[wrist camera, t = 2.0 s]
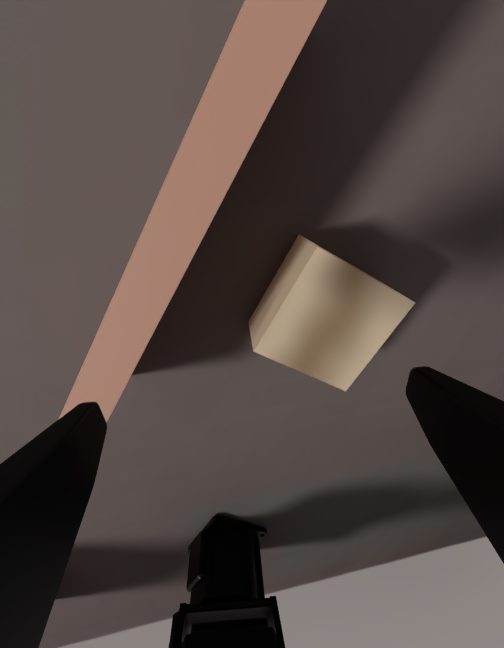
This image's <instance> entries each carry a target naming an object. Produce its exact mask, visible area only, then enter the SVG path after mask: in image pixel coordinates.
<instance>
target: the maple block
mask: <svg viewBox="0 0 504 648" xmlns="http://www.w3.org/2000/svg"><path fill="white" fill-rule="evenodd" d="M414 304H415V302H413V301H412V300H410V299H409V298H407V297H405V296H404V295H402V294H400V293H399V292H397V291H395V290H394V289H392V288H391V287H389V286H387V285H386V284H384V283H382V282H381V281H379V280H377V279H376V278H374V277H372V276H370V275H369V274H367V273H365V272H363V271H362V270H360V269H358V268H357V267H355V266H353V265H351V264H350V263H348V262H346V261H344V260H343V259H341V258H339V257H338V256H336V255H334V254H332V253H331V252H329V251H327V250H325V249H324V248H322V247H320V246H318V245H317V244H315V243H313V242H312V241H310V240H308V239H306V238H305V237H303V236H301V235H298V236H297V238H296V240H295V242H294V243H293V245H292V247H291V248H290V250H289V252H288V254H287V255H286V257H285V259H284V261H283V262H282V264H281V266H280V268H279V269H278V271H277V273H276V275H275V276H274V278H273V280H272V281H271V283H270V285H269V287H268V288H267V290H266V292H265V294H264V295H263V297H262V299H261V301H260V302H259V304H258V306H257V308H256V309H255V311H254V313H253V314H252V316H251V318H250V320H249V321H248V323H249V329H250V335H251V340H252V346H253V352H256V353H258V354H260V355H263V356H265V357H267V358H270V359H272V360H274V361H277V362H279V363H281V364H284V365H286V366H288V367H291V368H293V369H295V370H298V371H300V372H302V373H305V374H307V375H309V376H312V377H314V378H316V379H319V380H321V381H323V382H326V383H328V384H330V385H333V386H335V387H337V388H339V389H342V390H344V391H346V390H347V389H348V388H349V386H350V385H351V384H352V383H353V381H354V380H355V379H356V378H357V376H358V375H359V374H360V373H361V371H362V370H363V369H364V367H365V366H366V365H367V364H368V362H369V361H370V360H371V359H372V357H373V356H374V355H375V354H376V352H377V351H378V350H379V348H380V347H381V346H382V345H383V343H384V342H385V341H386V340H387V338H388V337H389V336H390V335H391V333H392V332H393V331H394V329H395V328H396V327H397V326H398V324H399V323H400V322H401V321H402V319H403V318H404V317H405V316H406V314H407V313H408V312H409V310H410V309H411V308H412V307H413V305H414Z"/></svg>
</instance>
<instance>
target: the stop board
mask: <svg viewBox="0 0 504 648" xmlns="http://www.w3.org/2000/svg"><path fill="white" fill-rule="evenodd" d="M326 2H327V0H245V1H244V4H243V6H242V8H241V10H240V13H239V15H238V17H237V19H236V22H235V24H234V26H233V28H232V31H231V33H230V35H229V37H228V40H227V42H226V44H225V46H224V49H223V51H222V53H221V55H220V58H219V60H218V62H217V64H216V67H215V69H214V71H213V73H212V76H211V78H210V80H209V82H208V85H207V87H206V89H205V91H204V94H203V96H202V98H201V100H200V103H199V105H198V107H197V109H196V112H195V114H194V116H193V118H192V121H191V123H190V125H189V127H188V130H187V132H186V134H185V136H184V139H183V141H182V143H181V145H180V148H179V150H178V152H177V154H176V157H175V159H174V161H173V163H172V166H171V168H170V170H169V172H168V175H167V177H166V179H165V181H164V184H163V186H162V188H161V190H160V193H159V195H158V197H157V199H156V202H155V204H154V206H153V208H152V211H151V213H150V215H149V217H148V220H147V222H146V224H145V226H144V229H143V231H142V233H141V235H140V238H139V240H138V242H137V244H136V247H135V249H134V251H133V253H132V256H131V258H130V260H129V262H128V265H127V267H126V269H125V271H124V274H123V276H122V278H121V280H120V283H119V285H118V287H117V289H116V292H115V294H114V296H113V298H112V301H111V303H110V305H109V307H108V310H107V312H106V314H105V316H104V319H103V321H102V323H101V325H100V328H99V330H98V332H97V334H96V337H95V339H94V341H93V343H92V346H91V348H90V350H89V352H88V355H87V357H86V359H85V361H84V364H83V366H82V368H81V370H80V373H79V375H78V377H77V379H76V382H75V384H74V386H73V388H72V391H71V393H70V395H69V397H68V400H67V402H66V404H65V406H64V409H63V411H62V413H61V415H60V418H61V417H63V416H64V415H65V414H66V413H68V412H69V411H70V410H72V409H73V408H74V407H76V406H77V405H78V404H80V403H84V402H97V403H98V404H99V406H100V409H101V411H102V413H103V416H104V418H105V420H106V423H107V421H108V419H109V417H110V415H111V413H112V411H113V409H114V407H115V405H116V403H117V402H118V400H119V398H120V396H121V394H122V392H123V390H124V388H125V386H126V384H127V382H128V380H129V379H130V377H131V375H132V373H133V371H134V369H135V367H136V365H137V363H138V361H139V359H140V358H141V356H142V354H143V352H144V350H145V348H146V346H147V344H148V342H149V340H150V338H151V336H152V335H153V333H154V331H155V329H156V327H157V325H158V323H159V321H160V319H161V317H162V315H163V314H164V312H165V310H166V308H167V306H168V304H169V302H170V300H171V298H172V296H173V294H174V292H175V291H176V289H177V287H178V285H179V283H180V281H181V279H182V277H183V275H184V273H185V271H186V270H187V268H188V266H189V264H190V262H191V260H192V258H193V256H194V254H195V252H196V250H197V248H198V247H199V245H200V243H201V241H202V239H203V237H204V235H205V233H206V231H207V229H208V227H209V226H210V224H211V222H212V220H213V218H214V216H215V214H216V212H217V210H218V208H219V206H220V204H221V203H222V201H223V199H224V197H225V195H226V193H227V191H228V189H229V187H230V185H231V183H232V182H233V180H234V178H235V176H236V174H237V172H238V170H239V168H240V166H241V164H242V162H243V160H244V159H245V157H246V155H247V153H248V151H249V149H250V147H251V145H252V143H253V141H254V139H255V138H256V136H257V134H258V132H259V130H260V128H261V126H262V124H263V122H264V120H265V118H266V116H267V115H268V113H269V111H270V109H271V107H272V105H273V103H274V101H275V99H276V97H277V95H278V94H279V92H280V90H281V88H282V86H283V84H284V82H285V80H286V78H287V76H288V74H289V72H290V71H291V69H292V67H293V65H294V63H295V61H296V59H297V57H298V55H299V53H300V51H301V50H302V48H303V46H304V44H305V42H306V40H307V38H308V36H309V34H310V32H311V30H312V28H313V27H314V25H315V23H316V21H317V19H318V17H319V15H320V13H321V11H322V9H323V7H324V6H325V4H326ZM60 418H59V419H60Z"/></svg>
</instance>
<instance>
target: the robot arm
mask: <svg viewBox="0 0 504 648" xmlns="http://www.w3.org/2000/svg"><path fill="white" fill-rule="evenodd" d="M406 396H407V398H408V400H409V402H410V405H411V407H412V409H413V411H414V413H415V415H416V417H417V419H418V421H419V423H420V425H421V427H422V429H423V431H424V433H425V435H426V437H427V439H428V441H429V443H430V445H431V447H432V448H433V450H434V452H435V453H436V455H437V457H438V458H439V460H440V461H441V463H442V465H443V466H444V468H445V470H446V471H447V473H448V474H449V476H450V478H451V479H452V481H453V482H454V484H455V486H456V487H457V489H458V491H459V492H460V494H461V495H462V497H463V499H464V500H465V502H466V503H467V505H468V507H469V508H470V510H471V512H472V513H473V515H474V516H475V518H476V520H477V521H478V523H479V524H480V526H481V528H482V529H483V531H484V533H485V534H486V536H487V537H488V539H489V541H490V542H491V544H492V545H493V547H494V549H495V550H496V552H497V554H498V555H499V557H500V558H501V560H502V562H503V563H504V401H502V400H500V399H497V398H495V397H493V396H491V395H489V394H486V393H484V392H482V391H480V390H478V389H476V388H473V387H471V386H469V385H467V384H465V383H462V382H460V381H458V380H456V379H454V378H451V377H449V376H447V375H445V374H443V373H441V372H438V371H436V370H434V369H432V368H430V367H426V366H424V367H415V368H412V369H411V371H410V374H409V378H408V382H407V386H406ZM106 430H107V424H106V420H105V418H104V416H103V413H102V411H101V409H100V406H99V404H98V403H97V402H84V403H80V404H78V405H77V406H76V407H74V408H73V409H72V410H70V411H69V412H68V413H66V414H65V415H64V416H63V417H61V418H60V419H59V420H57V421H56V422H55V423H53V424H52V425H51V426H50V427H48V428H47V429H46V430H44V431H43V432H42V433H40V434H39V435H38V436H36V437H35V438H34V439H33V440H31V441H30V442H29V443H27V444H26V445H25V446H23V447H22V448H21V449H19V450H18V451H17V452H16V453H14V454H13V455H12V456H10V457H9V458H8V459H6V460H5V461H4V462H2V463H1V464H0V648H38V647H39V644H40V641H41V638H42V636H43V633H44V630H45V627H46V624H47V621H48V618H49V615H50V612H51V609H52V606H53V603H54V600H55V597H56V595H57V592H58V589H59V586H60V583H61V580H62V577H63V574H64V571H65V568H66V565H67V562H68V559H69V557H70V554H71V551H72V548H73V545H74V542H75V539H76V536H77V533H78V530H79V527H80V524H81V521H82V518H83V516H84V513H85V510H86V507H87V504H88V501H89V498H90V495H91V492H92V489H93V486H94V482H95V478H96V474H97V470H98V466H99V461H100V457H101V453H102V448H103V444H104V439H105V435H106ZM266 536H267V530H266V529H264V528H260V527H257V526H253V525H250V524H246V523H243V522H239V521H236V520H232V519H229V518H226V517H222V516H214V517H213V518H212V519H211V520H210V521H209V523H208V524H207V525H206V526H205V528H204V529H203V530H202V531H201V532H200V533H199V534H198V536H197V537H196V538H195V539H194V541H193V542H192V543H191V545H190V546H189V547H188V553H189V554H190V557H189V567H188V578H187V591H188V592H191V599H190V604H186V603H180V609H179V611H178V612H177V613H175V614H173V621H172V629H171V636H170V643H169V648H285V644H284V639H283V633H282V628H281V622H280V617H279V611H278V606H277V600H276V596H270V598H265V595H264V585H263V575H262V565H261V555H260V545H259V544H260V543H261V542H262V540H263V539H264V538H265V537H266Z"/></svg>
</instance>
